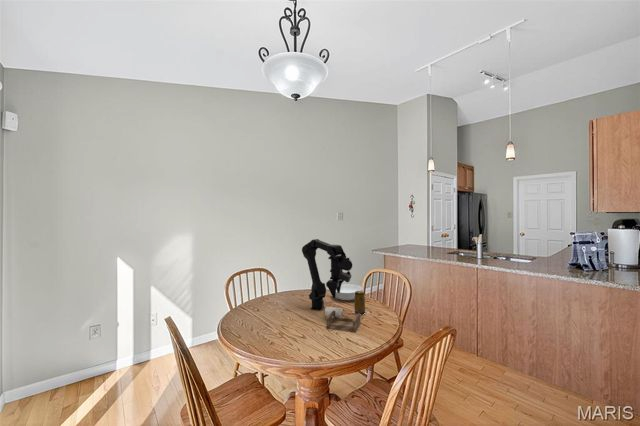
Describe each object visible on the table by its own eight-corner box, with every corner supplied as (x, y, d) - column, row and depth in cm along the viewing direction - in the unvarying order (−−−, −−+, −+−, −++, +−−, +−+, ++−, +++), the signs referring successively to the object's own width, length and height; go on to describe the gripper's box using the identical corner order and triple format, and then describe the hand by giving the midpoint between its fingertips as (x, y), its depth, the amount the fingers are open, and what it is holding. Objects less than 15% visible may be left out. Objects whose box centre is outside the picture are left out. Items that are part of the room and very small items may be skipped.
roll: (324, 317, 169) (324, 308, 169) (327, 314, 174) (327, 305, 174) (340, 319, 166) (340, 310, 165) (343, 316, 170) (343, 307, 170)
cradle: (326, 328, 154) (326, 317, 154) (333, 320, 164) (333, 310, 164) (355, 332, 148) (355, 321, 148) (360, 323, 159) (360, 313, 158)
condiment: (359, 309, 180) (359, 289, 180) (370, 313, 173) (370, 292, 173) (351, 312, 175) (350, 292, 175) (361, 316, 169) (361, 295, 168)
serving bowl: (357, 292, 214) (357, 283, 214) (367, 301, 194) (366, 291, 193) (328, 294, 211) (328, 285, 210) (335, 304, 190) (335, 293, 190)
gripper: (345, 272, 158) (346, 301, 159) (353, 265, 175) (354, 291, 176) (325, 271, 161) (326, 299, 162) (335, 264, 179) (335, 290, 180)
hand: (336, 295), depth 170 cm, fingers open, 9 cm apart
